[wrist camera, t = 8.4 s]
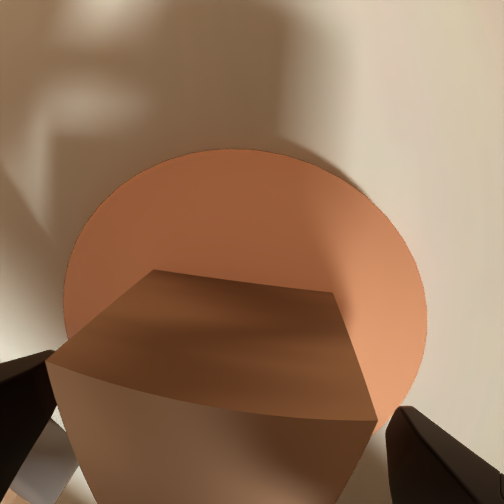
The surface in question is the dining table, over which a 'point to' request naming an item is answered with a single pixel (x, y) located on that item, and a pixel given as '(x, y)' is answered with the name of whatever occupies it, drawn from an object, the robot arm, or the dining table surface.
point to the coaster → (261, 250)
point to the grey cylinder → (46, 467)
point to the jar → (13, 498)
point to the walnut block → (214, 395)
